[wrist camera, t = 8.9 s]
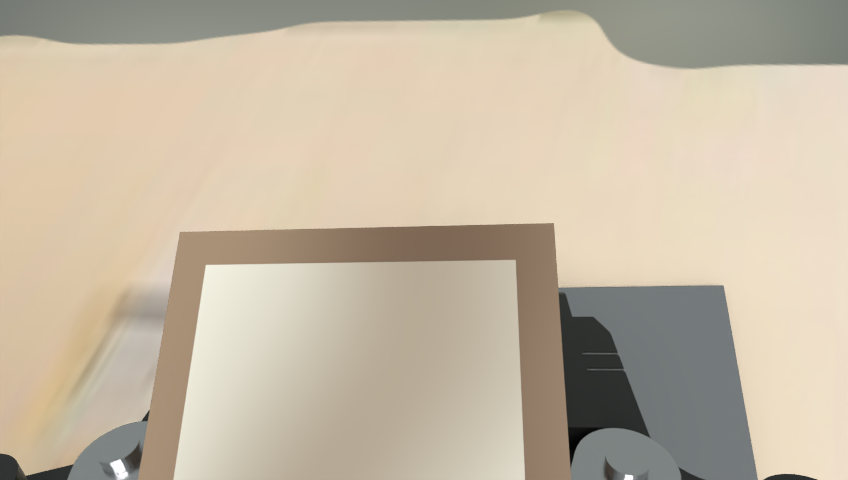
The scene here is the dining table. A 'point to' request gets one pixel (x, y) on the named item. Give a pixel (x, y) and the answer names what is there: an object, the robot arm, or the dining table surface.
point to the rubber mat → (679, 371)
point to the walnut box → (361, 357)
